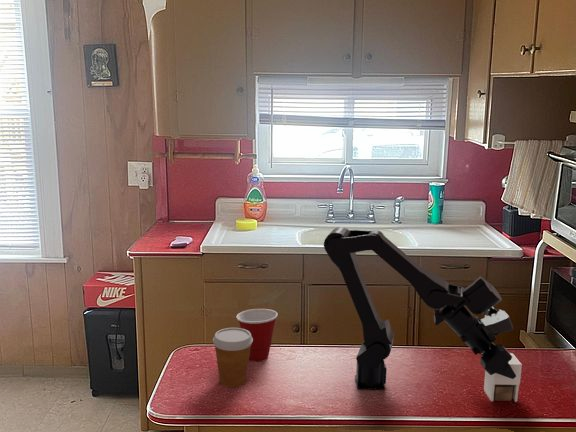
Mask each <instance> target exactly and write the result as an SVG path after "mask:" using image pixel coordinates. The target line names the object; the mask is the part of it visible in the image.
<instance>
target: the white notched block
mask: <svg viewBox="0 0 576 432" xmlns="http://www.w3.org/2000/svg"><path fill="white" fill-rule="evenodd" d="M509 353H510V355H511V356H512V359H511V360H510V361H509V362H508V363H509V365H510V366H511V368H512V370H513V371H514V373H515V375H516V377H515V378H514V379H511V378H508V377H505V376H503V375H500V374H497V373H494V374H493V375H490V374H489V373H488V372H487V371H486V370H485V371H484V372H485V373H484V383H483V391H484V393H485V394H486V397H487V398H488V399H489V401H490V402H494V388H495V384H499V385H512V387H513V390H512V400H513V401H514V402H515V403H517V402H518V398H519V397H518V395H519V387H520V385H521V376H522V366H523V364H522V362H520V360H519V359H518V358H517V357H516V356H515V354H514V353H512V352H509Z"/></svg>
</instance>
